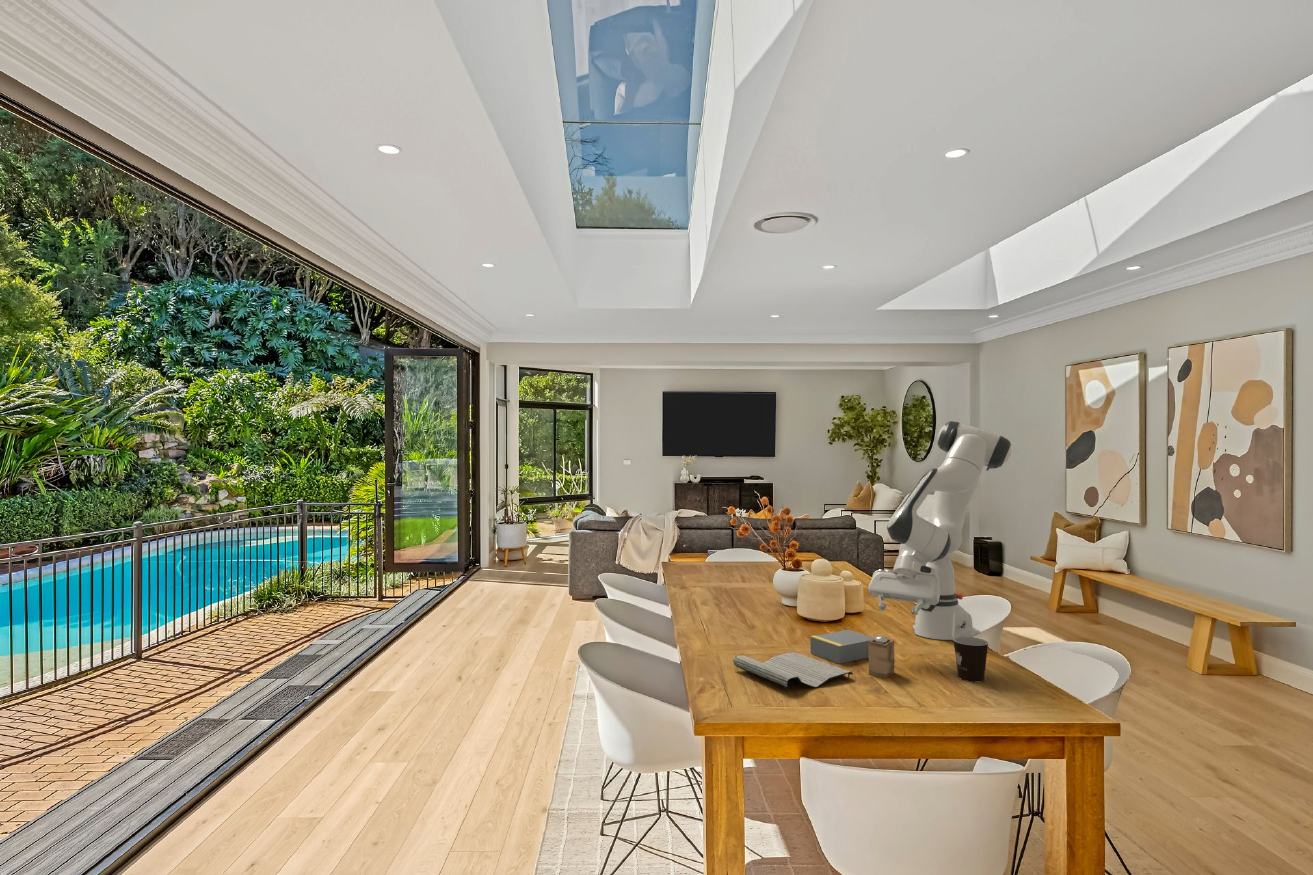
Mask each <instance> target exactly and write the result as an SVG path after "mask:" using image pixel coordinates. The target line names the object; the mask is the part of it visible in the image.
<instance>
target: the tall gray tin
mask: <svg viewBox="0 0 1313 875" xmlns="http://www.w3.org/2000/svg"><path fill="white" fill-rule="evenodd" d="M868 648H869V657H868V675H870V676H875V677H879V678H883V679H887V678H889V677H890V676H892V675H893V674H894V673H895V640H894V639H890V638H889V639H888V638H887V643H886V644H882V643H876V642H875V637H874V639H872V640H871V641H869V642H868Z"/></svg>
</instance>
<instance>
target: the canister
mask: <svg viewBox="0 0 1313 875" xmlns="http://www.w3.org/2000/svg"><path fill="white" fill-rule="evenodd" d="M874 638H875V642H876V643H882V644H886V643H887V639H888V637H887V636H884V635H876V636H874Z"/></svg>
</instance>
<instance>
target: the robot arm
mask: <svg viewBox="0 0 1313 875" xmlns="http://www.w3.org/2000/svg"><path fill="white" fill-rule="evenodd" d="M936 438H937V446H938V447H939V449H940V450H941V451H944V452H945V453H947V454H946V456H945V458H944V461H942V463H941V465H940V466H939V467H937V468H931V469H928V470H927V471H926V472H925V473H924V475H922V477H921V478H920V480H919V481H918V482H917V483H916V485H915V486H914V487H913V488H912V490H911V492H910V493H909V494H908V496H907V497H906V498H905V500H904V501H903V503H901V505H900V506H899V508H898V509H897V510H896V511H895V513H894V514H893V515H892V516H891V517H890V518H889V520H888V522H887V525H886V530H887V533H888V535H889V537H890V539H891V540H892V541H894V542H897V543H899V544H900V545H899V549H898V553H899V554H898V556H897V557H896V559H895V563H894V565H893V569H892V570H891V569H887V570H885V569H878V570H876V571H874V572H873V573H872V578H871V580H870V582H869V584H868V586H867V591H868V593H869V594H870V596H871V597H872V598H878V601H879V605H878V609H879V610H881V611H886V608H887V604H886V602H885V600H886V599H887V600H895V601H903V602H909V603H917V604H916V605H915V606H913V605H912V606H911V610H910V612H911V615H914V616H915V619H914V620H915V622H914V624H913V625H912V629H913V630H914V634H915V635H918V636H920V637H921V638H922V637H924V638H927V639H933V640H941V641H953V639H954V638H956V637H976V636H978V635H981V630H980V629H979V628H976V627H973V618H972V615H971V614H970V613H969V612H968V611H967V610H966V609H965V608H963V607H962V606H961V605H960V604H959V600H963V599H964V595H963V593H961V592H960V593H959V592H956V591H955V568H954V565H953V562H952V559H951V553H953V552H956V551H958V549H959V548H960V547H961V545H962V543H963V535H962V532H963V527H964V523H965V517H966V514H967V513H966V512H967V510H968V506H969V504H970V502H971V499H972V497H973V495H974V492H975V489H976V488H977V485H978V482H979V479H980V476H981V474H982V471H983V468H984V466H986V470H985V471H989V470H990V469H991V470H992V469H998V468H1001V467H1002V466H1003V465H1004V464H1006V463H1007V461H1008V460H1009V458H1010V456H1011V453H1012V448H1011V445H1012V444H1011V441H1010V440H1009V439H1008V438H1006V437H1004V436H1002V435H998V434H996V433H993V432H991V431H988V430H987V429H983V428H980V427H976V426H971V425H968V424H963V423H960V422H959V421H953V420H950V421H947V422H945V424H944V425H943V426H941V428H940V429H939V431H938V433H937V437H936ZM931 492H934V493H933V497H932V500H933V501H932V506H931V512H930V516H924V517H921V516H919V515H918V513H917V511H918V510H919V509H920V507H921V505H922V504H923V502H924V501H925V500H926V498H927V496H928V495H929V494H930V493H931Z"/></svg>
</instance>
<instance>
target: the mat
mask: <svg viewBox="0 0 1313 875" xmlns="http://www.w3.org/2000/svg"><path fill="white" fill-rule="evenodd" d="M732 662H733V665H734V666H735V667H736V668H739V669H741V670H744V671H745V672H748V673H751V674H753V675H756V676H758V677H761V678H764V679H765V680H768V681H770V682H772V683H775V684H777V685H781V686H782V687H784V689H785V692H786V693H788V690H787V688H788V687H789V684H788V683H789V681H790V680H793V679H794V680H795V681H797V682H798V683H801V684H803V685H805V686H807V687H811V688H819V687H821V686H823V685H824V684H825V683H827V682H829V680H831V679H835V678H839V677H842V676H845V675H847V678H848V679H850V675H854V674H853V672H852V671H850V670H848V669H844V668H841V667H839V666H837V665H832V664H830V663H827V662H824V661H822V660H818V659H815V658H814V657H810V656H807V655H804V654H802V653H801V654H800V653H798V652H795V651H791V652H787V653H782V654H778V655H777V654H776V655H774V656H772V657H771V658H769V659H767V660H766V661H763V662H762V661H758V660H755V659H753V658H751V657H748V656H746V655H743V654H742V655H741V654H740V655H736V656H734V658H733V661H732Z"/></svg>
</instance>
